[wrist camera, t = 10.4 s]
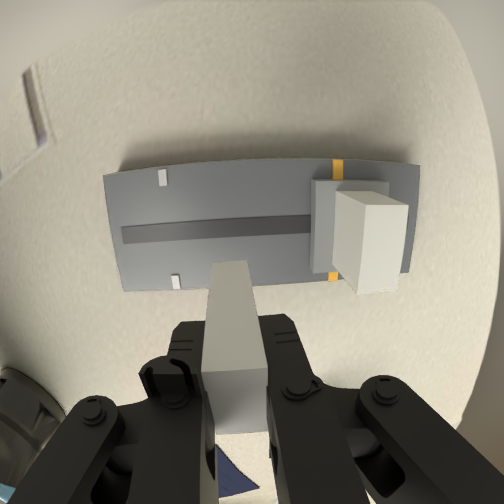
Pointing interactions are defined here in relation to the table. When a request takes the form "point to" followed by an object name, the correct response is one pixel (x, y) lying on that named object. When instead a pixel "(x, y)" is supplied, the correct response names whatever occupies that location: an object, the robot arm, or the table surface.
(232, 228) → the console
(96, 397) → the robot arm
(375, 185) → the fader tab
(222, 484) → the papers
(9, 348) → the table surface
